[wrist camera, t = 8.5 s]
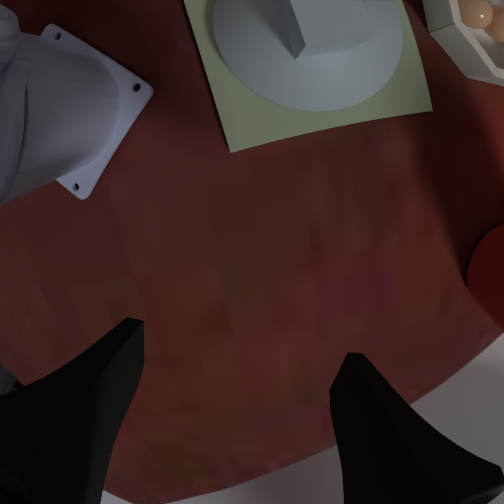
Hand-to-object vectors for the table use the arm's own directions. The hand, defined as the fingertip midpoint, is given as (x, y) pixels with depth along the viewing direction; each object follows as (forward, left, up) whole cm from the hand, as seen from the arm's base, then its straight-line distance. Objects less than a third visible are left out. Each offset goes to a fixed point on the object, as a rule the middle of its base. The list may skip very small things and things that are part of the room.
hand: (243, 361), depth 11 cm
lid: (-6, +12, -9) cm, 16 cm away
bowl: (+1, +22, -10) cm, 24 cm away
